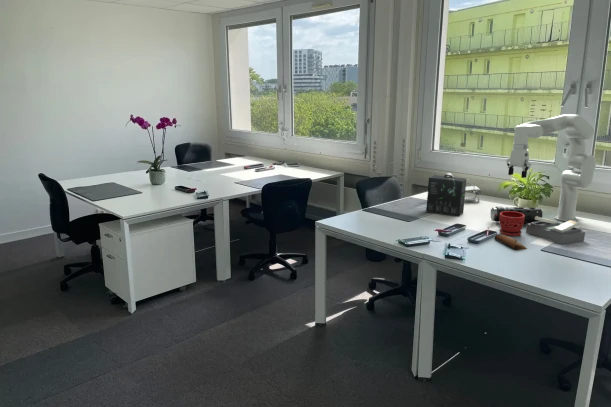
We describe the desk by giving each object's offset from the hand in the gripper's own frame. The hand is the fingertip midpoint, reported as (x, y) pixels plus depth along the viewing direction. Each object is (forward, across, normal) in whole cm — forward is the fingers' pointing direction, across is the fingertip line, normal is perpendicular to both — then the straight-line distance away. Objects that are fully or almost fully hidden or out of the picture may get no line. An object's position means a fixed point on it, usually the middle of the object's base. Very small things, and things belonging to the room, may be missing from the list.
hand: (517, 176), depth 264 cm
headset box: (+31, +43, +15) cm, 55 cm away
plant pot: (+31, -10, +11) cm, 35 cm away
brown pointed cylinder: (+32, -24, +25) cm, 47 cm away
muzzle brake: (+32, +6, -9) cm, 33 cm away
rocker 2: (+23, -29, -8) cm, 38 cm away
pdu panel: (+31, -21, -8) cm, 38 cm away
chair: (+32, +68, -20) cm, 78 cm away
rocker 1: (+23, -16, -8) cm, 30 cm away
